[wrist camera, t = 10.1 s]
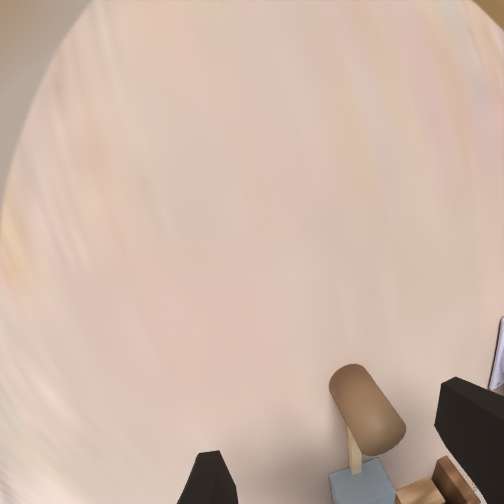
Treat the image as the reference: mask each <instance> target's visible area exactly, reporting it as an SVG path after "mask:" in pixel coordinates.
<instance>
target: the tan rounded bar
mask: <svg viewBox="0 0 504 504" xmlns="http://www.w3.org/2000/svg"><path fill="white" fill-rule="evenodd" d="M329 389H330V391H331V393H332V395H333V397H334V399H335V401H336V403H337V405H338V407H339V409H340V411H341V413H342V415H343V417H344V419H345V421H346V423H347V435H348V452H349V468H346V469H343V470H340V471H337V472H334V473H331V474H329V479H330V487H331V496H332V500H333V502H334V504H394V501H395V496H396V491H395V489H394V487H393V485H392V483H391V482H390V480H389V478H388V476H387V474H386V472H385V470H384V469H383V467H382V465H381V463H380V461H379V459H378V457H377V458H375V459H372V460H369V461H367V462H364V463H362V454H364V455H367V456H375V455H380V454H382V453H385V452H387V451H389V450H390V449H392V448H393V447H394V446H396V445H397V444H398V443H399V442H400V441H401V439H402V438H403V436H404V435H405V432H406V425H405V423H404V422H403V420H402V419H401V418H400V416H399V415H398V413H397V412H396V411H395V409H394V408H393V406H392V405H391V404H390V402H389V401H388V399H387V398H386V397H385V395H384V394H383V392H382V391H381V390H380V388H379V387H378V386H377V384H376V383H375V381H374V380H373V379H372V377H371V376H370V374H369V373H368V372H367V370H366V369H365V368H364V367H363V366H361V365H358V364H350V365H346V366H344V367H342V368H340V369H339V370H338V371H337V372H335V374H334V375H333V376H332V378H331V380H330V383H329Z"/></svg>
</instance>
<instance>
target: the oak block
mask: <svg viewBox="0 0 504 504" xmlns="http://www.w3.org/2000/svg"><path fill="white" fill-rule="evenodd" d="M396 494H397V496H398V498H399V500H400V502H401V504H444V503H445V500H444V498H443V497H442V495H441V494H440V492H439V490H438V489H437V487H436V486H435V484H434V483H433V481H432V480H431V478H430V477H429V476H427V477H425V478H423V479H421V480H419V481H417V482H414V483H412V484H410V485H408V486H406V487H403V488H401V489H399V490H396Z"/></svg>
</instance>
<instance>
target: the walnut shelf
mask: <svg viewBox="0 0 504 504" xmlns="http://www.w3.org/2000/svg"><path fill="white" fill-rule="evenodd" d="M432 481H433V483H434V484H435V486H436V487H437V489H438V490H439V492H440V494H441V495H442V497H443V498H444V500H445V503H444V504H480V503H481V501H480V500H479V498H478V497H477V496H476V494H475V493H474V491H473V490H472V489H471V487H470V486H469V485H468V483H467V482H466V480H465V479H464V478H463V476H462V475H461V474H460V472H459V471H458V470H457V468H456V467H455V466H454V464H453V463H452V462H451V460H450V459H449V458H448V456H445V457H443V458H441V459H439V460H438V461H437V464H436V467H435V471H434V474H433V477H432ZM394 504H401V502H400V500H399V498H398V496H397V494H396V496H395V501H394Z"/></svg>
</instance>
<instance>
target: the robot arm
mask: <svg viewBox="0 0 504 504" xmlns="http://www.w3.org/2000/svg"><path fill="white" fill-rule="evenodd" d="M503 383H504V317H503V319H502V321H501V327H500V334H499V340H498V346H497V352H496V357H495V362H494V367H493V372H492V377H491V381H490V385H489V388H490V389H491V390H494V389H496V388H497V387H499V386H500V385H502V384H503ZM434 426H435V428H436V430H437V431H438V433H439V435H440V437H441V439H442V441H443V442H444V444H445V446H446V447H447V449H448V450H449V451H450V453H451V454H452V455H453V457H454V458H455V459H456V460H457V462H458V463H459V464H460V466H461V467H462V468H463V469H464V471H465V472H466V473H467V475H468V476H469V477H470V478H471V480H472V481H473V482H474V484H475V485H476V486H477V488H478V489H479V491H480V492H481V494H482V495H483V497H484V499H485V501H486V502H487V504H504V396H502V395H499V394H497V393H494V392H492V391H489V390H487V389H484V388H482V387H480V386H477V385H475V384H473V383H470V382H468V381H465V380H463V379H460V378H458V377H454V378H452V379H450V380H448V381H446V382H443V383H441V389H440V396H439V402H438V408H437V413H436V419H435V424H434ZM177 504H238V498H237V491H236V486H235V483H234V481H233V479H232V477H231V475H230V473H229V471H228V469H227V466H226V464H225V462H224V460H223V458H222V455H221V453H220V451H219V450H218V451H211V452H203V453H199V454H198V455H197V457H196V460H195V463H194V466H193V468H192V471H191V473H190V476H189V478H188V481H187V483H186V485H185V488H184V490H183V492H182V494H181V496H180V498H179V500H178V502H177Z"/></svg>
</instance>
